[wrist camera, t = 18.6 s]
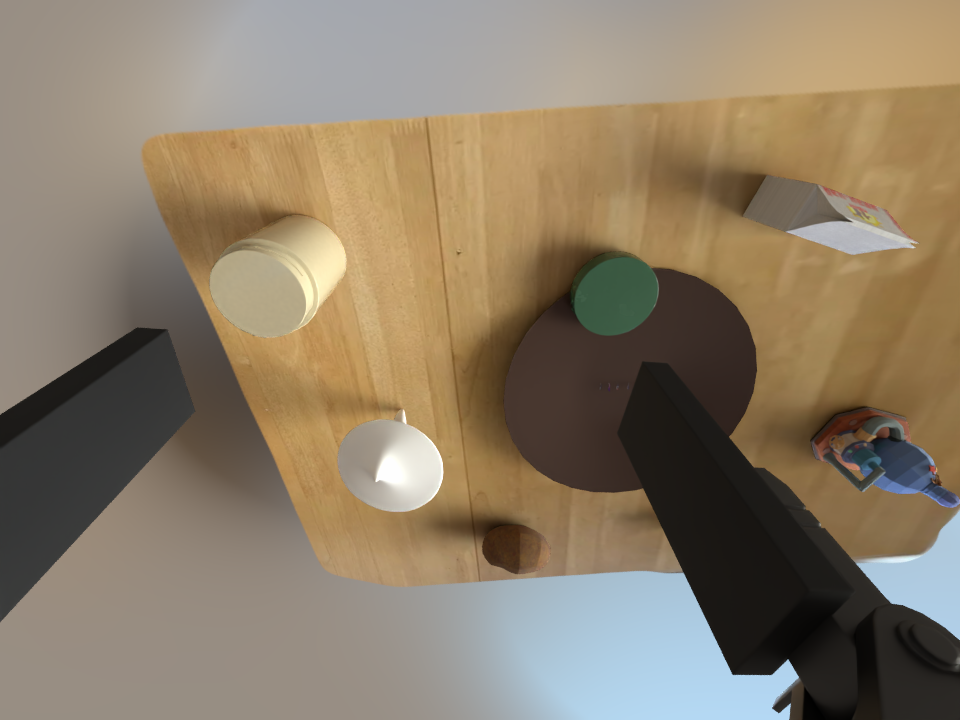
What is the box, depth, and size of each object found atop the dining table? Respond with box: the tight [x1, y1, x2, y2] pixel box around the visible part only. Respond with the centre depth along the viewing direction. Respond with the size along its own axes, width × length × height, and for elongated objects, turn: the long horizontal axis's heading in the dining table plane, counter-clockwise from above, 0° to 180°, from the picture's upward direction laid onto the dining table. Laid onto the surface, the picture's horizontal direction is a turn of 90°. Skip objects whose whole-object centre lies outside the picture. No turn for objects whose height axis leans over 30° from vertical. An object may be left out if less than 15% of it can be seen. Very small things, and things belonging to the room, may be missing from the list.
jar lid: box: [570, 251, 658, 336], centre depth 40 cm, size 8×8×2 cm
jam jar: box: [209, 215, 346, 338], centre depth 34 cm, size 8×8×10 cm
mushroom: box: [338, 409, 443, 512], centre depth 43 cm, size 10×11×12 cm
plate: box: [504, 268, 757, 493], centre depth 45 cm, size 28×28×4 cm
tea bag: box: [742, 175, 918, 255], centre depth 33 cm, size 4×7×10 cm, turn 74°
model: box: [811, 407, 959, 507], centre depth 48 cm, size 12×9×9 cm
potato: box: [482, 525, 551, 574], centre depth 57 cm, size 7×10×6 cm
